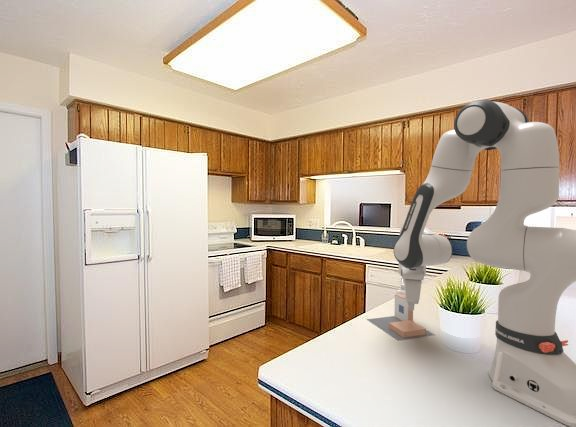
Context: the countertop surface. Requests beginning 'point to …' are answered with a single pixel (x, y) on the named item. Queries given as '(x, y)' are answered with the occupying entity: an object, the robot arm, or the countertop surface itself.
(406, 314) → the tile
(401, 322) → the tile
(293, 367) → the countertop surface
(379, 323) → the mat
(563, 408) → the robot arm
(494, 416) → the countertop surface
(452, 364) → the countertop surface
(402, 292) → the eye dropper bottle
